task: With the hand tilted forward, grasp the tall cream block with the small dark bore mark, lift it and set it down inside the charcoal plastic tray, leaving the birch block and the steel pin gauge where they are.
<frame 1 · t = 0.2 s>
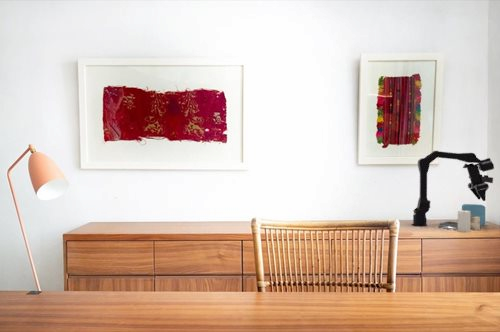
hand: (481, 200, 244), 16 cm above the sideboard, tool pointing down, fingers open, 9 cm apart
tray: (453, 227, 244), on the sideboard
pin gauge: (447, 229, 238), on the sideboard, tilted 22°
cream block: (463, 231, 231), on the sideboard
birch block: (471, 229, 238), on the sideboard
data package: (473, 225, 253), on the sideboard
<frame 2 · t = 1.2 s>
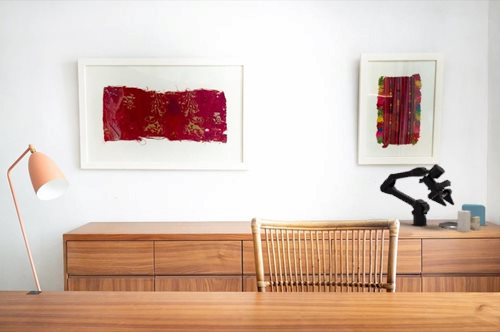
hand: (449, 205, 237), 13 cm above the sideboard, tool tilted 45°, fingers open, 9 cm apart
pin gauge: (449, 225, 240), point 1 cm above the sideboard, tilted 163°
everything else where it was.
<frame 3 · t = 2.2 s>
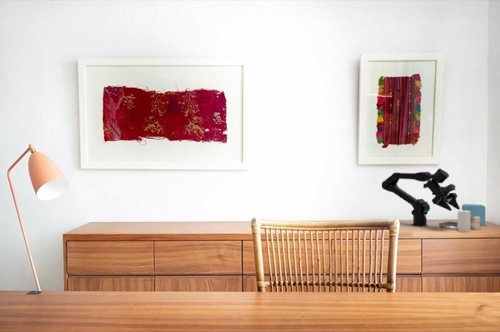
hand: (455, 209, 235), 11 cm above the sideboard, tool tilted 45°, fingers open, 9 cm apart
pin gauge: (448, 226, 239), point 1 cm above the sideboard, tilted 156°
everything else where it was.
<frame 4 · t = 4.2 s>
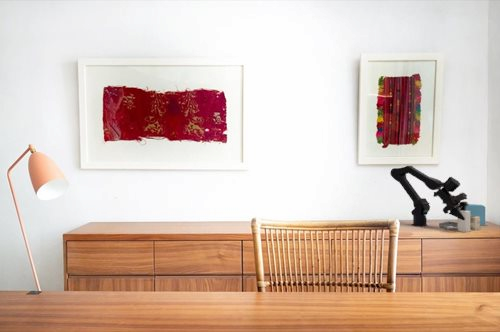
hand: (466, 219, 230), 7 cm above the sideboard, tool tilted 45°, fingers closed on cream block, 5 cm apart
pin gauge: (450, 226, 240), point 1 cm above the sideboard, tilted 132°
cream block: (463, 231, 231), on the sideboard, touching gripper
everything else where it was.
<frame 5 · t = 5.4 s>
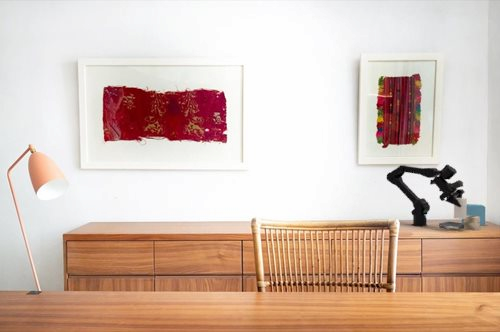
hand: (462, 206, 232), 13 cm above the sideboard, tool tilted 45°, fingers closed on cream block, 5 cm apart
cream block: (460, 218, 233), point 7 cm above the sideboard, touching gripper
everything else where it was.
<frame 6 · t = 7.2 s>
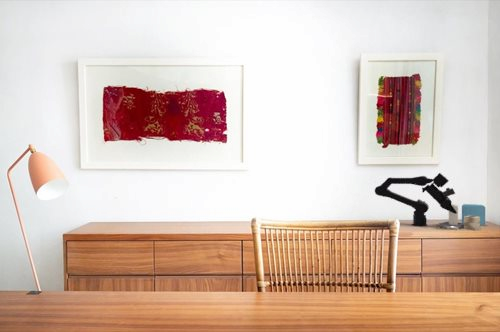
hand: (455, 212, 244), 8 cm above the sideboard, tool tilted 45°, fingers closed on cream block, 5 cm apart
cream block: (453, 224, 244), point 2 cm above the sideboard, touching gripper
everything else where it was.
when the fingers open (8 cm above the sideboard, at t = 7.4 s): cream block drops 1 cm, resting on tray.
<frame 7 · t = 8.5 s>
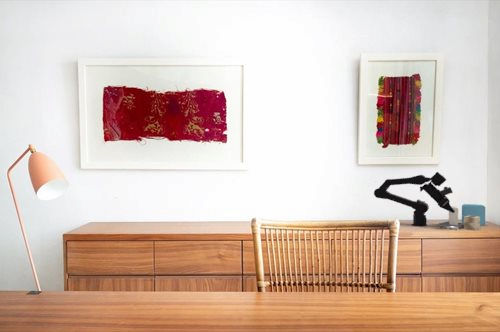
hand: (453, 211, 244), 9 cm above the sideboard, tool tilted 45°, fingers open, 9 cm apart
pin gauge: (450, 226, 240), point 1 cm above the sideboard, tilted 123°
cream block: (453, 226, 244), point 1 cm above the sideboard, touching tray
everything else where it was.
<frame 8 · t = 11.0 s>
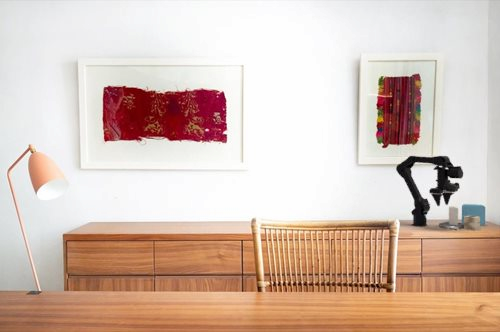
hand: (442, 205, 240), 13 cm above the sideboard, tool pointing down, fingers open, 9 cm apart
pin gauge: (450, 226, 240), point 1 cm above the sideboard, tilted 110°
everything else where it was.
at the end: cream block inside the target area on the tray (0.0 cm from its centre), point 0.6 cm above the tray's base; the gripper is holding nothing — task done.
